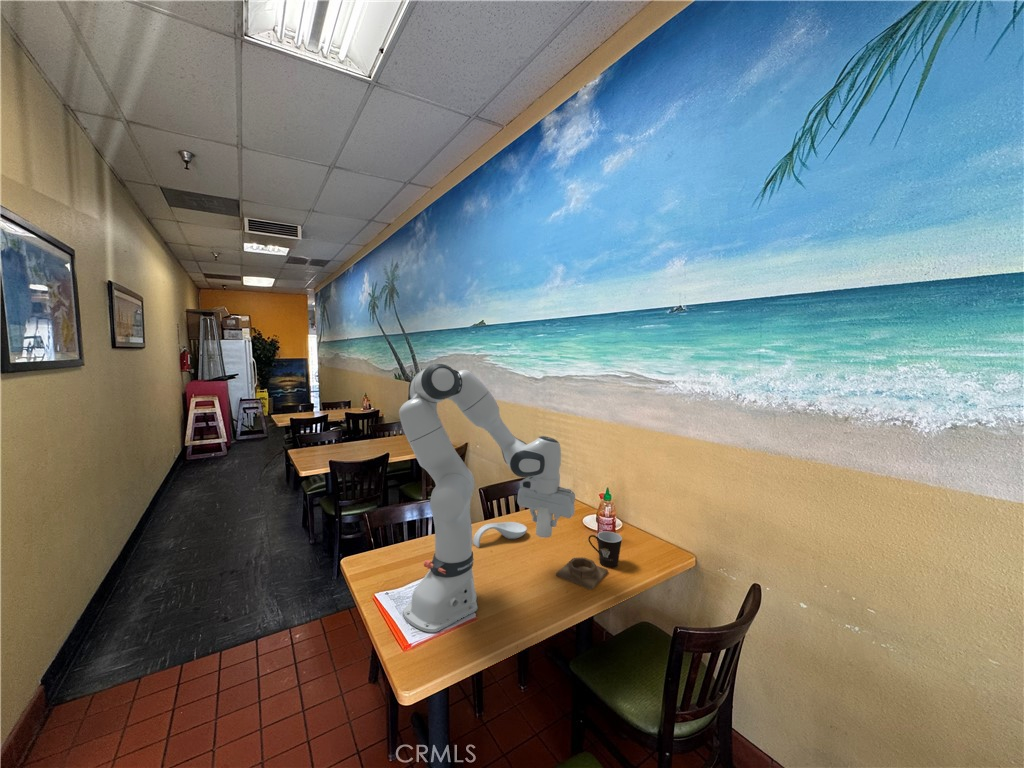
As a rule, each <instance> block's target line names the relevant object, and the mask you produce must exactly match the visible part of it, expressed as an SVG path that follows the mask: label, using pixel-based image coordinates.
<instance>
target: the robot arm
mask: <svg viewBox="0 0 1024 768" xmlns="http://www.w3.org/2000/svg"><path fill="white" fill-rule="evenodd" d="M407 397H408V398H407V401H405V402H403V404H402V405H401V406H400V408H399V409H398V415H399V416H398V417H399V420H400V424H401V426H402V429H403V430H402V431H403V433H404V435H405V437H406V440H407V442H408V444H409V445H410V447H411V449H412V451H413V454H414V457H415V458H416V460H417V462H418V464H419V466H420V467H421V468H422V469H424V471H426V472H427V473H428V474H429V475H430V477H431V478H432V480H433V481H434V484H435V487H434V488H433V489H432V491H431V496H430V499H429V501H430V502H429V503H430V505H429V506H430V511H431V513H432V520H433V524H434V525H433V526H434V534H435V535H434V549H435V550H434V553H433V557H432V560H431V561H430V560H429V559H426V560H424V562H423V567H425V568H427V569H428V570H429V571H428V572H427V573H426V574H425V575H424V577H423V578H422V580H421V581H420V582H419V584H418V585H417V586H416V587H415V589H414V590H413V592H412V596H411V602H409V603H408V604H407V606H405V607H404V608H403V609H402V616H403V617H404V619H405V621H406V622H407V623H409V624H410V625H412V627H415V628H417V629H418V630H420V631H422V632H423V631H424V632H427V633H437V632H439V631H442V630H443V629H444V628H446V627H449V626H450V625H452V624H454V623H456V622H458V621H459V620H461V618H462V619H464V618H465V617H467V616H469V615H471V614H473V613H475V612H476V611H478V603H477V599H478V597H477V592H476V588H475V580H474V574H473V573H474V572H473V567H474V560H475V559H474V552H473V549H472V548H473V527H472V520H471V501H472V497H473V493H474V491H475V487H476V483H475V478H474V474H473V472H472V471H471V470H470V469H469V468H468V467H467V465H466V463H465V462H464V461H463V459H462V457H460V455H459V453H458V452H457V451H456V449H455V447H454V446H453V443H452V441H451V439H450V437H449V435H448V432H447V431H446V429H445V427H444V425H443V422H442V420H441V419H440V417H439V414H438V410H437V408H438V407H437V405H438V403H440V402H442V401H444V400H446V399H447V400H451V401H452V402H453V403H454V404H456V406H457V407H458V409H459V410H460V411H461V413H462V414H463V415H464V416H465V417H466V418H467V419H468V421H470V422H471V423H472V424H473V425H475V426H476V427H478V428H481V429H483V430H485V431H487V433H489V435H490V436H491V437H492V439H493V440H494V441H495V442H496V444H497V445H498V447H499V448H500V451H501V453H502V454H501V455H502V457H503V461H504V462H505V464H506V465H508V466H507V467H508V468H509V469H510V471H511V472H512V473H513V475H515V476H517V477H519V478H523V479H522V480H520V483H519V484H520V485H519V486H520V488H519V489H518V492H517V498H516V499H517V502H516V503H517V504H518V506H519V507H523V508H527V509H529V512H530V514H531V516H532V522H534V523H537V510H538V506H540V507H544V508H549V509H548V512H549V513H550V514H553V520H552V521H551V526H552V528H555V527H557V524H558V523H557V522H558V520H559V519H560V518H561V517H562V518H567V519H571V518H572V517H573V516H574V515H575V506H576V505H575V502H576V494H575V492H574V491H573V490H572V489H570V488H565V487H561V486H560V484H561V483H560V482H561V481H560V479H561V474H560V468H561V464H562V463H561V462H562V453H561V452H562V450H561V448H562V447H561V444H560V442H559V441H558V440H557V439H555V438H553V437H549V436H544V435H542V436H538V437H537V438H536V439H535V440H533V441H531V442H529V443H526V442H525V441H523V440H521V439H519V438H518V437H516V436H515V435H514V434H513V433H512V432H511V430H510V429H509V428H508V426H507V425H506V424H505V423H504V421H503V420H502V417H501V415H500V407H499V404H498V402H497V401H496V399H495V397H494V396H493V394H492V393H491V392H490V390H489V389H488V388H487V386H486V385H485V384H484V383H483V382H482V381H481V380H480V378H478V377H477V376H476V375H475V374H474V373H472V371H470V370H468V369H460V370H456V369H453V368H452V367H451V366H449V365H447V364H443V363H436V364H432V365H429V366H428V367H426V368H423V369H421V370H419V372H417V374H416V375H414V376H413V377H412V378H411V380H410V382H409V385H408V396H407ZM468 614H469V615H468ZM463 617H464V618H463ZM457 620H458V621H457Z"/></svg>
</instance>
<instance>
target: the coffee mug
mask: <svg viewBox="0 0 1024 768" xmlns="http://www.w3.org/2000/svg"><path fill="white" fill-rule="evenodd" d="M592 537H593V538H595V539H596V541H597V546H598V548H596V547H595V545H594V544H593V543H592V542H591V538H592ZM587 541H588V542H589V545H590V546H591V547H592V548H593V550H595V551H596V552H597V553H598V558H599V564H600V565H601V566H602V567H603V568H605V569H616V568H617V567H618V566H619V558H620V553H621V546H622V541H623V536H621V535H620V534H619V533H616V532H613V531H605V530H604V531H600V532H598V533H597V536H596V535H595V534H591V535H589V536H588V540H587Z"/></svg>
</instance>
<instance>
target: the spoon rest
mask: <svg viewBox="0 0 1024 768" xmlns="http://www.w3.org/2000/svg"><path fill="white" fill-rule="evenodd" d="M492 529H493V530H496V531H497V532H499V533H500V534H501V535H502V536H503V537H504V538H506V539H508V540H516V539H518V538H521V537H523V536H524V535H525V534H526V533H527V531H528V527H527V526H526V525H525V524H523V523H520V522H515V521H504V522H503V521H502V522H491V523H486V524H484V525H482V526H481V527H480V528H478V529H477V531H476V532H475V534H474V536H473V537H472V545H474V546H475V547H477V548H480V546H481V538H482V536H483V534H485V532H487V531H489V530H492Z"/></svg>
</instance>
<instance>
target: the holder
mask: <svg viewBox="0 0 1024 768" xmlns="http://www.w3.org/2000/svg"><path fill="white" fill-rule="evenodd" d="M608 571H609V569H608V568H605V567H603V566H602V567H601V566H598V565H597V564H596V562H595V561H594V560H593V559H589V558H586V557H583V556H581V557H572V558H571V559H570V560H569V561H568V562H567V564H565V565H563V567H562V568H560V569H559V570H558V571H557V572H556V575H555V576H556V577H558V578H561V579H563V580H565V581H567V582H570V583H573V584H576V585H578V586H581V587H583V588H586V589H587V590H590V591H593V589H594V588H595V587H596V586H597V585H598V584H599V583H600V581H602V579H603V578H604V577H605V576H606V575H607V574H608V573H609V572H608Z"/></svg>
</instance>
